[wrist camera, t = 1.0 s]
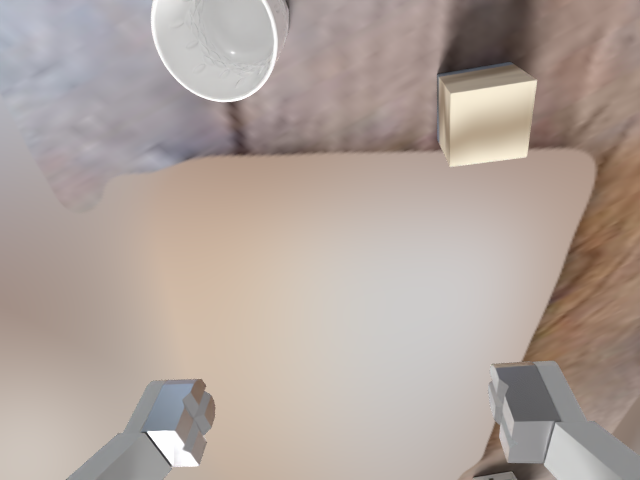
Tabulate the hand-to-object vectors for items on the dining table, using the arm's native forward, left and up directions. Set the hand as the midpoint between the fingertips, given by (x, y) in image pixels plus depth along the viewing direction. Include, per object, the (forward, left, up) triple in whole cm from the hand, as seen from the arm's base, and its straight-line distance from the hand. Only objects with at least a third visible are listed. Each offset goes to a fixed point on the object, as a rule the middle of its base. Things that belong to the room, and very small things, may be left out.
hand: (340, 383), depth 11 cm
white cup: (-7, -7, -30) cm, 32 cm away
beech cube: (+3, +11, -30) cm, 32 cm away
